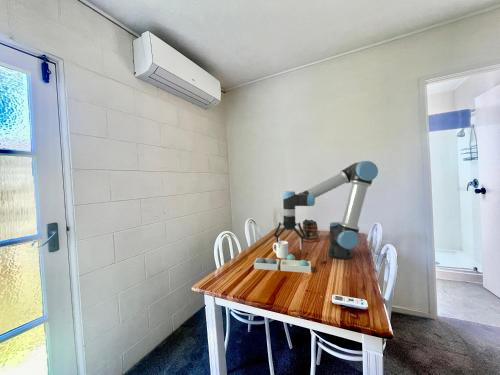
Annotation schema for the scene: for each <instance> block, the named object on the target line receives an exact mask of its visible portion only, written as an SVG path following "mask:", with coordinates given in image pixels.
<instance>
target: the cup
mask: <svg viewBox="0 0 500 375" xmlns="http://www.w3.org/2000/svg"><path fill="white" fill-rule="evenodd" d="M272 250H273V253H275V254H276V258H277V259H286V258H287V255H289V242H288V241H286V240H280V248H278V242H277V241H276V242H274V243H273V244H272Z"/></svg>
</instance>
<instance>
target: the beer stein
mask: <svg viewBox="0 0 500 375" xmlns="http://www.w3.org/2000/svg"><path fill="white" fill-rule="evenodd" d="M301 228H302V230H303V231H304V233H305V235H306V238H304V239H303V242H308V243H309V242H310V243H316V242H319V241H320V240H319V238H320V237H319V232H318V224H317V221H315V220H314V219H306V218H305V219H304V220H303V221H302V227H301ZM301 235H302V234H301ZM302 236H303V235H302Z"/></svg>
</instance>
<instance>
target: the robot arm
mask: <svg viewBox="0 0 500 375" xmlns="http://www.w3.org/2000/svg"><path fill="white" fill-rule="evenodd" d="M378 174H379V168H378V166H377V165H376V163H374V162H372V161H370V160H363V161H360V162H354V163H352V164H350V165H349V166H347V167H346V168H344V169H342V170H340V172H339V173H338V174H336V175H333V176H331V177H330V178H327V179H325V180H324V181H322V182H319V183H318V184H316V185H314V186H311V188H308V189H306V190H304V191H302V192H299V193H298V194H297V193H296V192H295V190H291V191H289V190H287V191H284V192H283V194H282V196H283V197H282V202H283V203H282V204H283V222H281V221H279V222H278V224H277V228H276V230H275V232H274V233H273V237H275V238H276V242H278V248H280V241H281V235H282V234H283V232H284V231H286V230H287V231H292V230H293V231H294V232H295V233H296V235H298V237H299V250H302V245H303V244H304V241H303V239H304V238H306V235H305V233H304V231H303V229H302V228H303V227H302V225H301V222H297V223H296V207H314V206H315V204H316V198H318V197H320V196H323V195H324V194H326V193H328V192H330V191H333V190H335V189H337V188H338V187H340V186H342V185H345V184H350V183H351V188H350V191H349V194H348V199H347V203H346V206H345V210H344V214H343V218H342V220H341V221H336V222H335V221H334V222H330V223H329V246H328V249H327V255H328V257H330V258H332V259H335V260H349V259H352V258H353V257H352V256H353V254H352V251H351V250H352V249H355V248H357V246H358V245H359V244H360V239H361V238H360V236H359V231H360V227H359V226H358V224H359V221H360V217H361V214H362V209H363V206H364V202H365V199H366V194H367V191H368V188H369V187H371V186H372V184H373V180H375V179H376V178H377V176H378ZM282 226H283V227H282ZM296 226H297V227H298V228H299V230H298V229H297V227H296ZM281 227H282V229H281V230H280V228H281ZM279 230H280V231H279ZM299 231H300V232H301V233H300V232H299ZM302 235H303V236H302Z"/></svg>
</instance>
